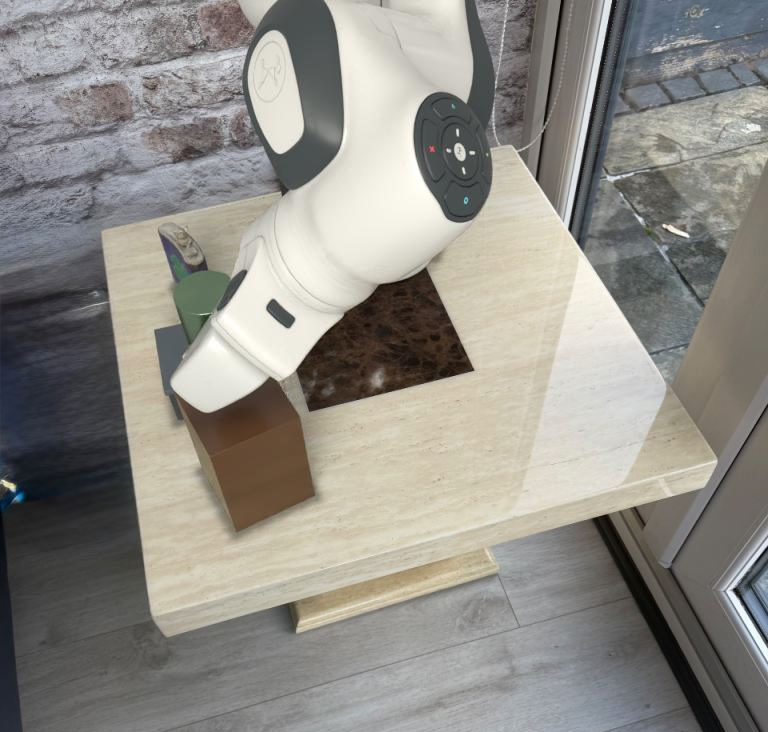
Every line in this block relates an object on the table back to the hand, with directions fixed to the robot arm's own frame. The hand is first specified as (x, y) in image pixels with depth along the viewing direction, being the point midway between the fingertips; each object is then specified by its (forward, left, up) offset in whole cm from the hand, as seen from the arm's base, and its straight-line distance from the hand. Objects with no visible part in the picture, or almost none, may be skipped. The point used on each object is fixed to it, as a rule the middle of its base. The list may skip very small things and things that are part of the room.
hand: (209, 331), depth 71 cm
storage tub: (-15, 0, -22) cm, 27 cm away
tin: (0, 0, -5) cm, 5 cm away
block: (+1, 0, -22) cm, 22 cm away
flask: (-28, +5, -22) cm, 36 cm away
